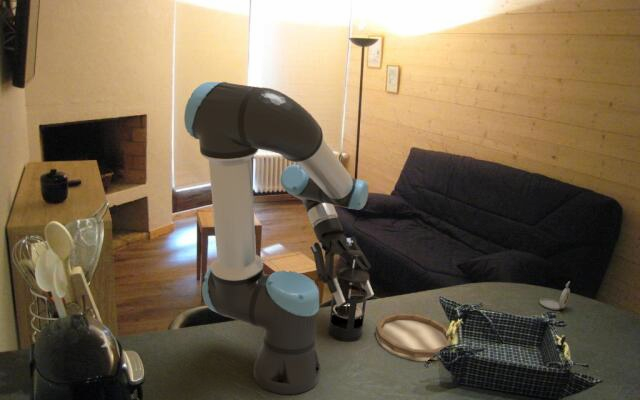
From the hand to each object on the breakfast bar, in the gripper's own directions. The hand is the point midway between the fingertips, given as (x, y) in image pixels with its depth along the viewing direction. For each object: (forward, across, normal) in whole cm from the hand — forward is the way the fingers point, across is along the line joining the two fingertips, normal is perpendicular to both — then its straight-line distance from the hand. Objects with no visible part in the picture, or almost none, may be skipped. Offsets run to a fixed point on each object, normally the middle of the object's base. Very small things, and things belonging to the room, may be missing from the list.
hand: (356, 300), depth 136 cm
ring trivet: (+14, -14, -1) cm, 20 cm away
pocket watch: (+19, -70, +4) cm, 73 cm away
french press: (+5, 0, -10) cm, 11 cm away
